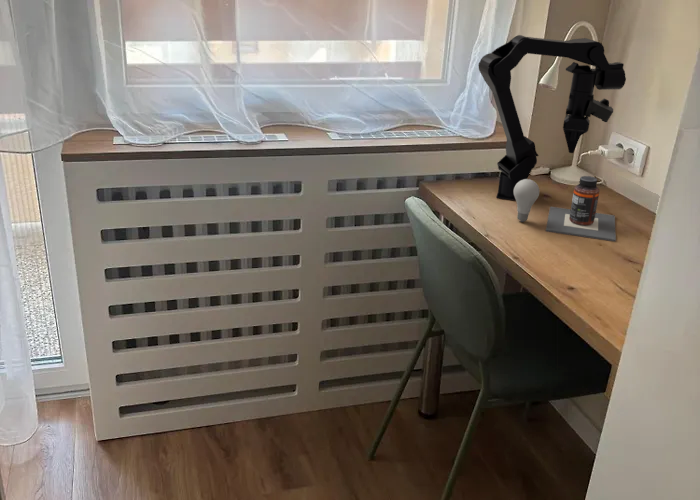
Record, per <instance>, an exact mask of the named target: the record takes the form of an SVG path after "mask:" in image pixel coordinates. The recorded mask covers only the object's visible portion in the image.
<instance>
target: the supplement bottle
mask: <svg viewBox="0 0 700 500" xmlns="http://www.w3.org/2000/svg"><path fill="white" fill-rule="evenodd" d="M578 182H579V183H578V184H576V185H575V186H574V188H573V193H572V201H571V206H570V209H571V211H570V218H569V219H570V221H571V222H573V223H575V224H578V225H591V224H592V223H593V222H594V219H595V214H596V213H597V209H598V202H599V196H600V188H599V187H598V186H597V185H598V184H597V183H598V178H597V177H594V176H591V175H583V176H580V177H579V181H578Z"/></svg>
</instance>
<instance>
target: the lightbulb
mask: <svg viewBox="0 0 700 500" xmlns="http://www.w3.org/2000/svg"><path fill="white" fill-rule="evenodd" d="M514 196H515V199H516V200H515V201H516V207H517V208H516V211H517V217H516V218H517V220H518V221H519V222H521V223H523V222H526V221H528V219H529V215H530V213H531V209H532V206H533V205H534V203H535V202H536V201H537V199H538V198H539V196H540V187H539V185H538V184H537V182H535V180H532V179H531V178H527V179H524V180H521V181H519V182H518V183H517V184H516V185H515V187H514Z"/></svg>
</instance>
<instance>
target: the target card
mask: <svg viewBox="0 0 700 500" xmlns="http://www.w3.org/2000/svg"><path fill="white" fill-rule="evenodd" d="M570 211H571V208H563V207H557V206H549V211H548V215H547V216H548V217H547V221H546V226H545V227H546V228H545V232H547V233H555V234H561V235H568V236H575V237H582V238H590V239H593V240H594V239H596V240H602V241H609V242H614V243H615V242H616V241H617V239H616V238H617V237H616V217H615V215H614V214H607V213H599V212H596V214H595V219H594V222H593V223H592V224H591V225H578V224H575V223H573V222H571V221H570V219H569V218H570Z"/></svg>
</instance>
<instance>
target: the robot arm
mask: <svg viewBox="0 0 700 500" xmlns="http://www.w3.org/2000/svg"><path fill="white" fill-rule="evenodd" d="M527 54H529V55H538V56H539V55H540V56H549V57H559V58H567V59H570V60H573V61H574V62H572V63H571V64H570V65H568V66H567V67H566V68H565V71H566V72H568V73H571V74H572V78H571V84H570V91H569V95H568V101H567V102H568V103H567V105H566V109H565V110H566V111H565V117H564V119H563V126H562V130H563V134H564V137H565V140H566V141H565V142H566V145H567V148H568V149H567V151H568V152H569V154H574V152H575V150H576V148H577V146H578V142H579V141H580V138H581V136H583V135H584V134H586V133H587V132H588V131H589V128H590V120H589V118H591V116H593V117H595V118H597V119H599V120H601V121H602V122H603V123H608V121H609V120H610V118H611V116H612V115H613V113H614V108H613V106H611V105H610V100H608V99H607V98H602V99H601V100H596V99H595V98H594V96H595V95H594V89H595V88H596V89H597V90H602V91H605V90H606V91H607V90H608V91H611V90H621V89H623V87H624V86H625V84H626V79H627V77H626V72H625V70H624V63H623V62H620V61H619V62H618V61H617V62H609V61H608V59H607V56H606V55H605V46H604V45H603V43H601V42H599V41H596V40H594V39H591V38H586V37H584V38H583V37H580V38H573V39H569V40H558V39H549V38H541V37H531V36H525V35H521V34H517V35H516V36H514V37H513V38H512V39H510V40H509V41H507V42H505V43H504V44H502V45H501V46H499V47H497V48H495V49H494V50H493V51H492V52H489V53H487V54H485V55H483V56H482V57H481V58H480V61H479V62H478V70H479V73H480V75H481V77H482V78H483V81H484V83H486V85H487V86H488V88H489V89H490V91H491V93H492V95H493V99H494V102H495V105H496V108H497V112H498V115H499V119H500V121H501V122H500V123H501V125H502V128H503V132H504V135H505V139H506V143H505V153H506V154H505V155H504V156H503V157H502V158H500V159H499V161H497V169H498V171H500V174H499V179H498V189H497V194H496V195H495V197H496V198H497V199H500V200H501V199H502V200H511V201H516V199H515V196H514V187H515V185H516V184H517V183H518V182H519V181H521V180H524V179H529V175H530V174H531V172H532V170H533V169H534V168H535V166H536V164H537V163H538V159H537V157H539V154H538V153H537V150H536V143H535V142H534V141H533V140H531V139H530V138H528V137H527V136H526V135H524V131H523V129H522V128H523V127H522V125H521V121H520V118H519V114H518V111H517V108H516V105H515V101H514V98H513V94H512V91H511V83H512V72H511V71H512V70H514V69H515V68H516V67H517V66H518V65H519V64H520V62H521V61H522V59H523V58H524V57H525V56H526V55H527ZM575 61H577V62H575ZM578 62H579V63H583V65H580V64H579V63H578ZM589 65H590V66H589ZM591 66H592V67H595V68H591Z"/></svg>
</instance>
